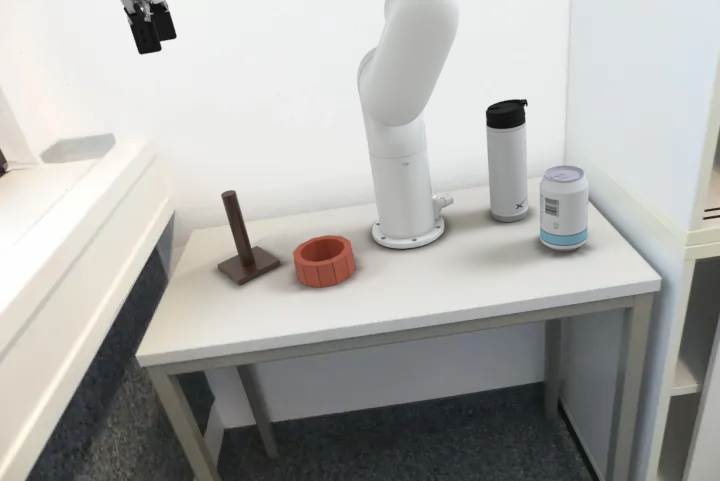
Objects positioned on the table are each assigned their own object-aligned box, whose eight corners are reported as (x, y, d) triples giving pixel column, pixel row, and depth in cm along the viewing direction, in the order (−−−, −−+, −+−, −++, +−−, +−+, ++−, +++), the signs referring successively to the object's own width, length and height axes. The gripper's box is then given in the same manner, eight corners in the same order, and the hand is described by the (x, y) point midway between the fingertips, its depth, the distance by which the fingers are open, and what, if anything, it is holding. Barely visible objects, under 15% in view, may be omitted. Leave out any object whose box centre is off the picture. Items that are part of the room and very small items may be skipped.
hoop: (333, 250, 103) (329, 229, 101) (366, 268, 96) (363, 246, 94) (287, 273, 99) (282, 252, 97) (319, 294, 92) (314, 272, 90)
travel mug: (530, 221, 101) (528, 106, 92) (490, 223, 103) (484, 110, 93) (529, 205, 106) (527, 94, 97) (491, 206, 108) (485, 98, 98)
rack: (258, 250, 107) (238, 178, 101) (281, 265, 101) (261, 190, 95) (218, 269, 103) (195, 196, 97) (239, 285, 98) (216, 209, 91)
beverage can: (596, 248, 91) (598, 175, 85) (553, 259, 90) (554, 186, 84) (572, 229, 97) (573, 160, 91) (532, 239, 96) (531, 170, 90)
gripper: (128, -91, 72) (171, 53, 80) (162, -90, 87) (195, 32, 95) (67, -81, 72) (116, 62, 80) (111, -81, 87) (149, 39, 95)
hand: (159, 46), depth 88 cm, fingers open, 9 cm apart
